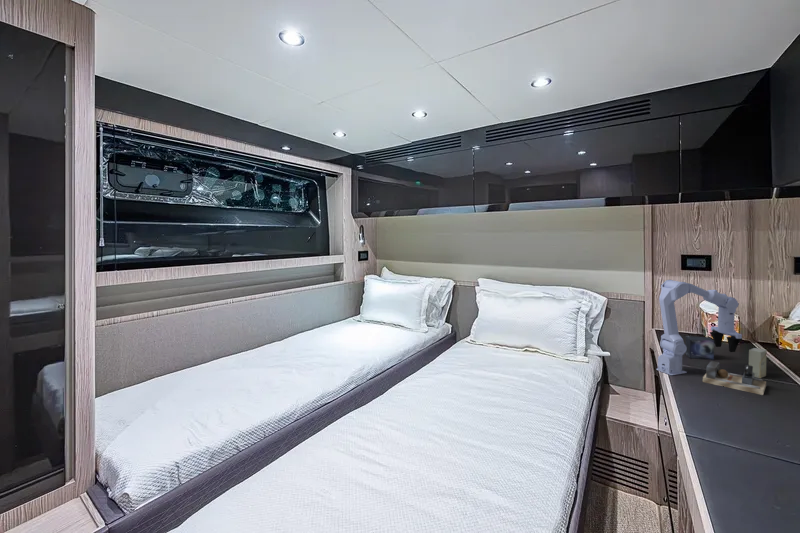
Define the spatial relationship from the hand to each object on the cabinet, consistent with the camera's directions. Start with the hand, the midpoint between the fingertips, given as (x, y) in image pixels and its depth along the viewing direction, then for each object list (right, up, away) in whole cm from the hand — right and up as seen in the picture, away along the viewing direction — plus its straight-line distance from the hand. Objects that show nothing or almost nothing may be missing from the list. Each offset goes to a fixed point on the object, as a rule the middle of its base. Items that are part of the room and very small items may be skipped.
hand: (725, 349), depth 171 cm
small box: (+3, -9, +18) cm, 20 cm away
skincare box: (+8, -11, -7) cm, 15 cm away
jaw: (-7, -10, -18) cm, 22 cm away
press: (-10, -12, -15) cm, 21 cm away
